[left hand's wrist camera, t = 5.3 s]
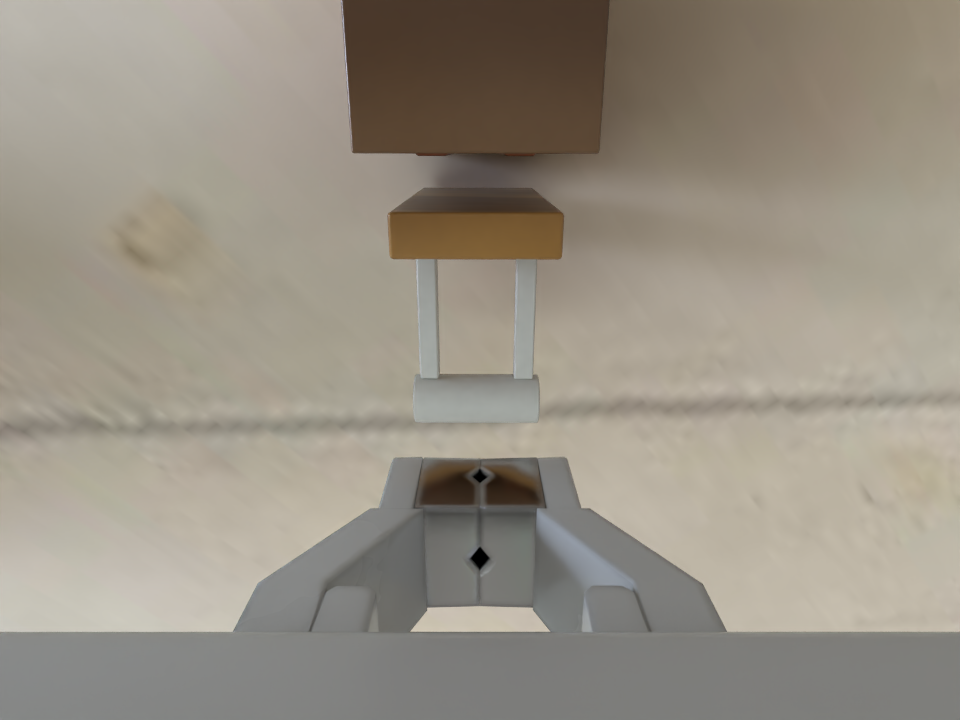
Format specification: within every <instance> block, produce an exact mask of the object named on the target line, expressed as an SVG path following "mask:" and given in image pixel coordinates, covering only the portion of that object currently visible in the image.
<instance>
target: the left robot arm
mask: <svg viewBox="0 0 960 720" xmlns="http://www.w3.org/2000/svg"><path fill="white" fill-rule="evenodd" d="M461 606H497V607H533V610H534V612H535V613H536V614H537V615H538V617H539V618H540V619H541V620H542V622H543V623H544V624H545V625H546V627H547V628H548V629H549V630H550V631H551V632H410V631H411V629H412V628H413V627H414V626H415V625H416V623H417V622H418V621H419V620H420V618H421V617H422V616H423V615H424V614H425V612H426V611H427V607H461ZM0 720H960V632H727V631H726V629H725V627H724V625H723V623H722V621H721V619H720V617H719V615H718V613H717V611H716V609H715V607H714V605H713V603H712V601H711V599H710V597H709V595H708V593H707V591H706V589H705V587H704V586H703V584H702V583H700V582H699V581H697V580H696V579H694V578H693V577H691V576H690V575H688V574H687V573H685V572H684V571H682V570H681V569H679V568H678V567H676V566H675V565H673V564H672V563H670V562H669V561H667V560H666V559H664V558H663V557H662V556H660V555H659V554H657V553H656V552H654V551H653V550H651V549H650V548H648V547H647V546H645V545H644V544H642V543H641V542H639V541H638V540H636V539H635V538H633V537H632V536H630V535H629V534H627V533H626V532H624V531H623V530H621V529H620V528H618V527H617V526H615V525H614V524H612V523H611V522H609V521H608V520H606V519H605V518H603V517H602V516H600V515H599V514H597V513H596V512H594V511H593V510H591V509H586V508H581V505H580V502H579V498H578V495H577V491H576V488H575V484H574V481H573V478H572V474H571V471H570V467H569V464H568V460H567V459H566V458H565V457H550V458H499V459H471V458H424V459H423V458H422V457H401V458H394V459H393V460H392V463H391V467H390V470H389V474H388V477H387V481H386V484H385V488H384V491H383V495H382V498H381V502H380V505H379V508H374V509H369V510H367V511H366V512H364V513H363V514H361V515H360V516H358V517H357V518H355V519H354V520H352V521H351V522H349V523H348V524H346V525H345V526H343V527H342V528H340V529H339V530H337V531H336V532H334V533H333V534H331V535H330V536H328V537H327V538H325V539H324V540H322V541H321V542H319V543H318V544H316V545H315V546H313V547H312V548H310V549H309V550H307V551H306V552H304V553H303V554H301V555H300V556H298V557H297V558H295V559H294V560H292V561H291V562H289V563H288V564H286V565H285V566H283V567H282V568H280V569H279V570H277V571H276V572H274V573H273V574H271V575H270V576H268V577H267V578H265V579H264V580H262V581H261V582H259V583H258V584H257V586H256V588H255V590H254V592H253V594H252V596H251V598H250V600H249V602H248V604H247V605H246V607H245V609H244V611H243V613H242V615H241V617H240V619H239V621H238V623H237V625H236V627H235V629H234V631H233V632H0Z"/></svg>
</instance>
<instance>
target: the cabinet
mask: <svg viewBox="0 0 960 720" xmlns="http://www.w3.org/2000/svg"><path fill="white" fill-rule="evenodd" d="M609 1H610V0H341V7H342V21H343V36H344V50H345V65H346V79H347V93H348V108H349V122H350V136H351V150H352V152H353V153H501V154H597V153H599V148H600V133H601V119H602V104H603V89H604V75H605V60H606V45H607V31H608V16H609Z"/></svg>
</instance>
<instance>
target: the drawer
mask: <svg viewBox="0 0 960 720" xmlns="http://www.w3.org/2000/svg"><path fill="white" fill-rule="evenodd" d="M450 154H455V153H416V155H418V156H446V155H450ZM500 154H501V153H500ZM503 155H506V156H534V155H535V154H503ZM563 226H564V215H563V213H562V212H561V211H559V210H558V209H557V208H556V207H555V206H553V205H552V204H551V203H550V202H548V201H547V200H546V199H545V198H543V197H542V196H541V195H540V194H538V193H537V192H536V191H535V190H533V189H532V188H423V189H422V190H420V191H419V192H418V193H416V194H415V195H413V196H412V197H410V198H409V199H408V200H406V201H405V202H403V203H402V204H401V205H399V206H398V207H396V208H395V209H394V210H392V211H391V212H389V213H388V233H389V253H390V257H391V258H392V259H416V275H417V303H418V330H419V358H420V374H417V375H416V376H415V379H414V387H413V413H414V420H415V422H464V423H537V422H538V419H539V410H540V389H539V379H538V376H537V375H536V374H533V359H534V331H535V303H536V275H537V259H560V258H561V257H562V246H563ZM437 259H516V276H515V319H514V362H513V373H514V374H439V373H440V355H439V313H438V270H437Z"/></svg>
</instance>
